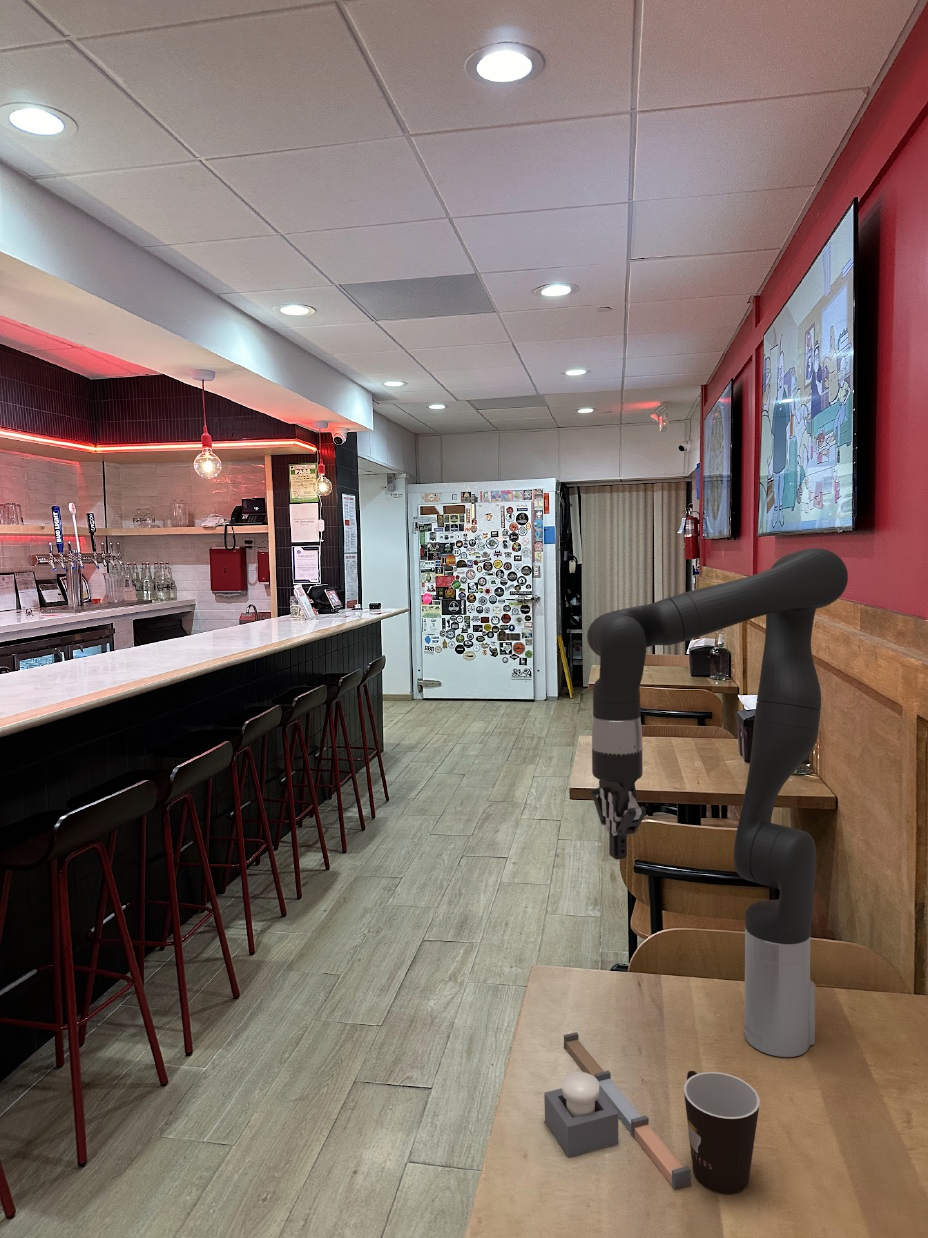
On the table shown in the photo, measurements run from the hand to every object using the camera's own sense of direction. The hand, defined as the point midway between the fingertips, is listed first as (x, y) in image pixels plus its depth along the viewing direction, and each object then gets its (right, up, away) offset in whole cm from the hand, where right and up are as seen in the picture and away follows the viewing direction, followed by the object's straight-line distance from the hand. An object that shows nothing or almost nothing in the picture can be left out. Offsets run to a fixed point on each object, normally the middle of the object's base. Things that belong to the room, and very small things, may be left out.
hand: (618, 857), depth 126 cm
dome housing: (-8, -30, -20) cm, 37 cm away
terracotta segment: (+1, -30, -25) cm, 39 cm away
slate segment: (-3, -29, -15) cm, 33 cm away
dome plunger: (-9, -29, -20) cm, 36 cm away
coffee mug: (+8, -30, -26) cm, 40 cm away
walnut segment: (-6, -29, -6) cm, 30 cm away
